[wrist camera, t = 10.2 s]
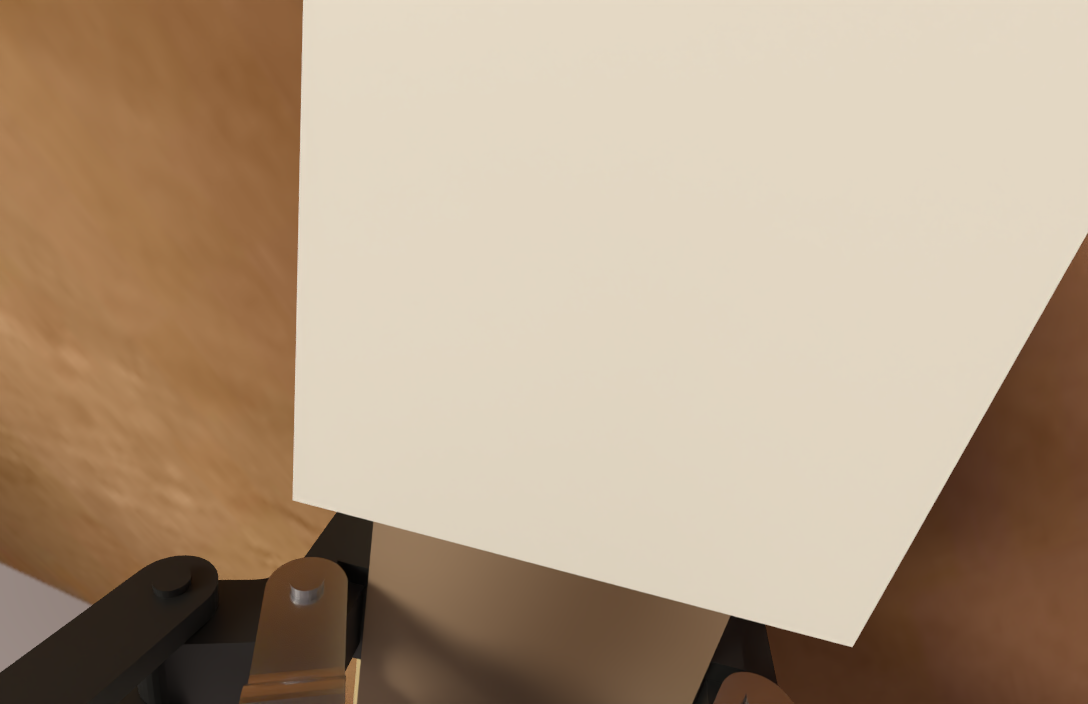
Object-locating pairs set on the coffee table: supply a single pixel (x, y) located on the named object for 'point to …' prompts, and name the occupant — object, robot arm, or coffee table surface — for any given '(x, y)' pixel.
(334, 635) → the robot arm
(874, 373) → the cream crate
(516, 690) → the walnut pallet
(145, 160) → the coffee table surface
